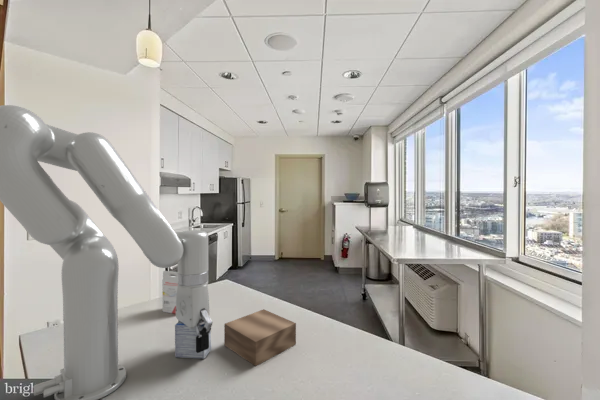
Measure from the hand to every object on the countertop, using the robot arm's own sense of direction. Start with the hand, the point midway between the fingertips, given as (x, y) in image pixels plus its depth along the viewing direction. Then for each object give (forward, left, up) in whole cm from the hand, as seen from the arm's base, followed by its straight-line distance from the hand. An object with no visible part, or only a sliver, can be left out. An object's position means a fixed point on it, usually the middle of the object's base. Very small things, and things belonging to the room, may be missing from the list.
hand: (193, 343), depth 75 cm
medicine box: (0, 0, -3) cm, 3 cm away
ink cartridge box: (+9, +31, -3) cm, 32 cm away
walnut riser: (+15, -9, -3) cm, 18 cm away
